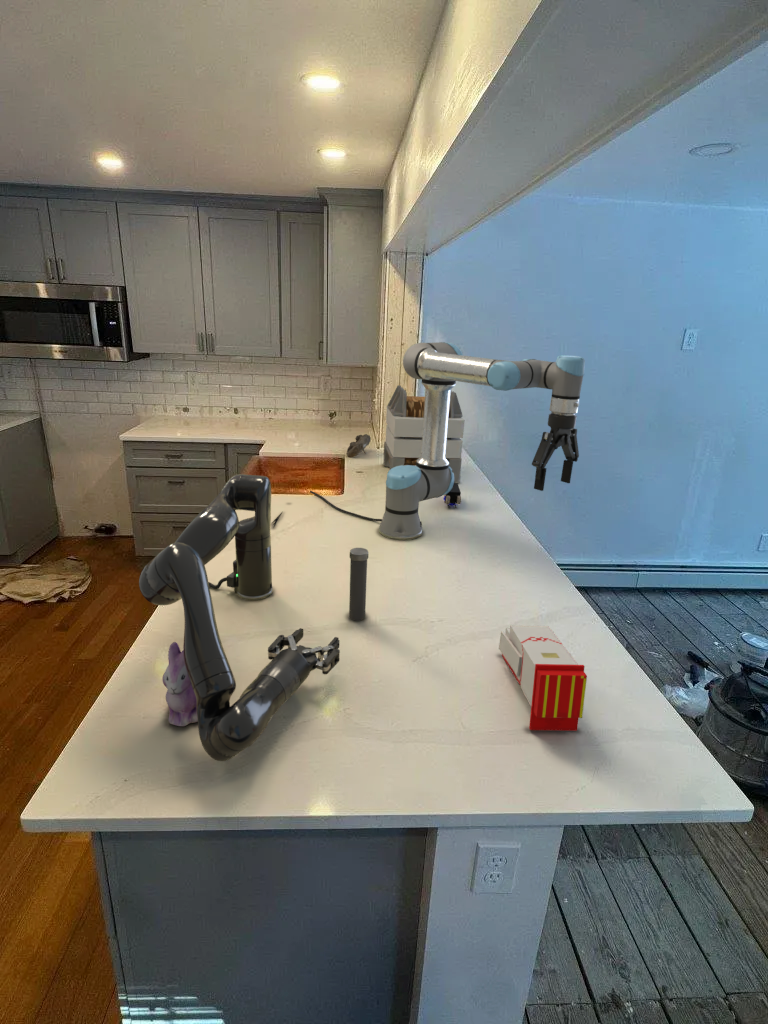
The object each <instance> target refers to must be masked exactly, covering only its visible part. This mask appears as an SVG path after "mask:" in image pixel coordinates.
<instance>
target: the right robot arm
mask: <svg viewBox="0 0 768 1024" xmlns="http://www.w3.org/2000/svg"><path fill="white" fill-rule="evenodd" d="M585 365H586V360H585V358H584V357H582V356H578V355H566V354H565V355H564V354H563V355H558V356H557V357H556V360H555V361H549V360H541V359H536V358H524V359H521V360H506V359H505V360H502V359H496V358H487V357H479V356H471V355H464V354H463V352H462V350H461V349H460V347H459V346H457V345H456V344H455V343H451V342H445V341H443V342H442V341H441V342H440V341H439V342H438V341H437V342H417V343H414V344H412V345H411V346H409V347H408V348H407V349H406V351H405V353H404V355H403V358H402V366H403V369H404V372H405V373H406V374H407V375H408V376H409V377H411V378H412V379H415V380H421V385H422V386H423V387H424V389H425V392H424V397H425V404H424V419H423V434H422V449H421V457H420V458H418V459H417V461H416V466H413V465H401V466H396V467H394V468H392V469H390V468H389V470H388V472H387V474H386V479H385V504H384V505H385V507H384V508H385V509H384V513H383V515H382V518H374V517H369V516H365V515H361V514H357V513H355V512H351V511H348V510H345V509H343V508H340V507H338V506H336V505H335V504H333V503H332V502H330V501H328V500H327V499H326V498H325V497H324V496H322V495H321V494H319V493H317V492H314V491H313V490H309V493H310V494H312V495H314V496H316V497H318V498H320V499H322V500H323V501H324V502H325V503H326V504H327V505H329V506H331V507H332V508H333V509H335V510H337V511H339V512H342V513H344V514H346V515H350V516H354V517H357V518H360V519H362V520H363V519H364V520H366V521H367V520H368V521H372V522H379V526H378V533H379V534H380V535H381V536H382V537H385V538H387V539H389V540H395V541H410V540H415V539H418V538H420V537H421V536H422V535H423V523H422V520H421V518H420V515H419V507H420V506H419V505H420V502H423V501H427V500H431V499H437V498H440V497H444V495H445V494H447V493H448V492H449V491H450V490H451V489H452V487H453V484H454V473H452V469H451V467H450V466H449V462H448V461H447V459H446V458H445V453H446V441H447V428H448V416H449V404H450V392H451V391H452V389H453V388H454V387H455V386H456V384H457V382H460V383H465V384H473V385H479V386H487V387H491V388H492V389H494V390H496V391H503V392H504V391H511V390H520V389H532V388H533V389H534V388H539V389H546V390H551V398H550V404H549V413H548V418H547V426H548V427H549V428H550V431H549V432H548V431H543V432H542V435H541V440H540V442H539V445H538V447H537V449H536V452H535V454H534V457H533V460H532V461H531V466H533V467H535V475H534V477H535V478H534V485H533V489H534V490H537V491H539V492H543V491H544V489H545V484H546V483H545V482H546V476H547V468H546V466H547V465H548V463H549V461H550V459H551V457H552V456H553V454H554V453H555V451H556V450H557V449H558V448H560V447H561V449H562V452H563V455H564V458H565V459H563V463H562V468H561V469H562V470H561V475H560V482H562V483H566V484H571V478H572V472H573V466H574V462H575V463H576V462H578V461H579V459H578V458H579V457H580V453H579V444H578V436H577V435H578V428H576V423H577V419H578V416H577V414H578V412H579V411H578V410H579V406H580V397H581V391H582V385H583V380H584V376H585Z"/></svg>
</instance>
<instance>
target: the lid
mask: <svg viewBox="0 0 768 1024" xmlns="http://www.w3.org/2000/svg"><path fill="white" fill-rule="evenodd" d="M349 559H350V561H351V560H354V561H365V560H367V561H368V559H369V550H368V549H367V548H364V547H354V548H351V549H350V550H349Z"/></svg>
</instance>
